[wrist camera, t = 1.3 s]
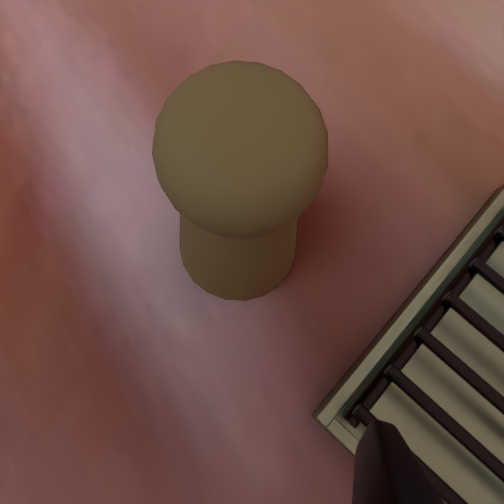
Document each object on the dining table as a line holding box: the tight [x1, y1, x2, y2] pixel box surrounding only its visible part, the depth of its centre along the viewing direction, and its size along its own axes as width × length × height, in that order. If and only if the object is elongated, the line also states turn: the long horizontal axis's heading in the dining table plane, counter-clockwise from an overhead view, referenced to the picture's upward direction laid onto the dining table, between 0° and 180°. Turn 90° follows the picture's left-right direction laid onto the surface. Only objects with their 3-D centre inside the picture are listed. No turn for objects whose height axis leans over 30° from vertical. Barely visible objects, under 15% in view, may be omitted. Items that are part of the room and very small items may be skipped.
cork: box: [152, 61, 328, 300], centre depth 16 cm, size 6×6×11 cm
